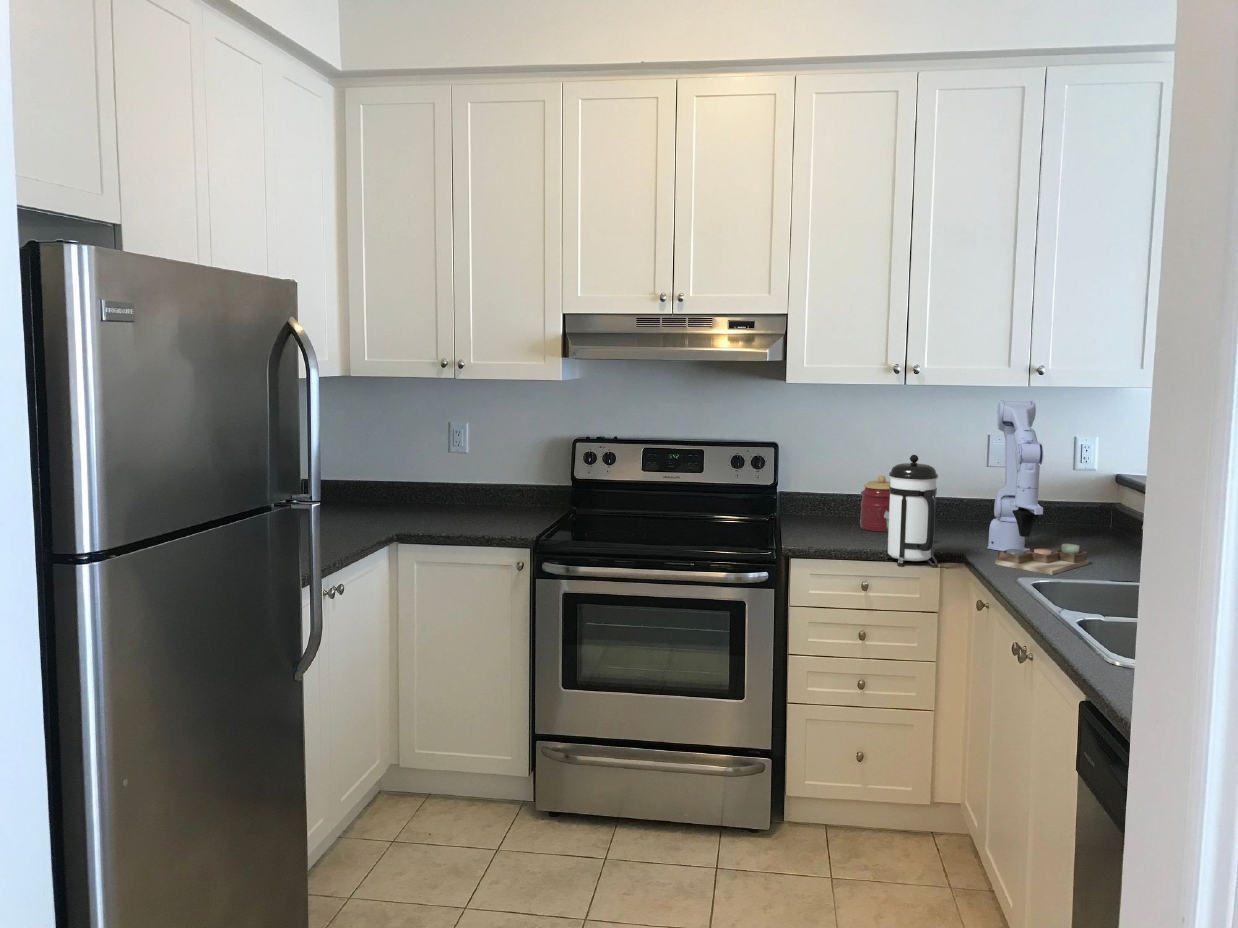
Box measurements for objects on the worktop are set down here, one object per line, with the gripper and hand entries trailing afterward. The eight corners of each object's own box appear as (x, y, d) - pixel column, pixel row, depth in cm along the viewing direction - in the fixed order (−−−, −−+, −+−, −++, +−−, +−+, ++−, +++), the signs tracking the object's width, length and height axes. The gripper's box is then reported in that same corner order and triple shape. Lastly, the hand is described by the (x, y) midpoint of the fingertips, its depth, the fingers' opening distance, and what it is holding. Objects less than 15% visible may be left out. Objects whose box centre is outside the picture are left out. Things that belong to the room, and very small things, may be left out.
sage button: (1058, 554, 267) (1058, 544, 267) (1065, 552, 270) (1066, 543, 270) (1074, 556, 264) (1074, 547, 264) (1081, 554, 267) (1082, 545, 266)
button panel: (995, 564, 266) (995, 552, 266) (1032, 554, 279) (1033, 542, 279) (1052, 574, 254) (1052, 562, 254) (1088, 563, 267) (1089, 551, 267)
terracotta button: (1030, 559, 267) (1031, 549, 267) (1038, 557, 270) (1039, 547, 269) (1046, 561, 263) (1046, 552, 263) (1053, 559, 266) (1054, 550, 266)
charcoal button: (1003, 559, 266) (1003, 550, 266) (1011, 557, 269) (1011, 548, 269) (1018, 562, 263) (1018, 552, 262) (1026, 560, 266) (1026, 550, 265)
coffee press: (870, 562, 267) (874, 455, 263) (896, 554, 279) (901, 450, 275) (930, 572, 255) (935, 460, 252) (955, 563, 267) (960, 455, 264)
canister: (893, 525, 325) (895, 473, 323) (905, 532, 312) (907, 478, 310) (855, 524, 325) (857, 472, 323) (865, 532, 312) (867, 478, 310)
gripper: (1000, 483, 271) (998, 531, 272) (1026, 491, 256) (1023, 541, 258) (1025, 483, 271) (1022, 531, 273) (1051, 491, 257) (1048, 541, 258)
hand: (1024, 536), depth 265 cm, fingers closed
